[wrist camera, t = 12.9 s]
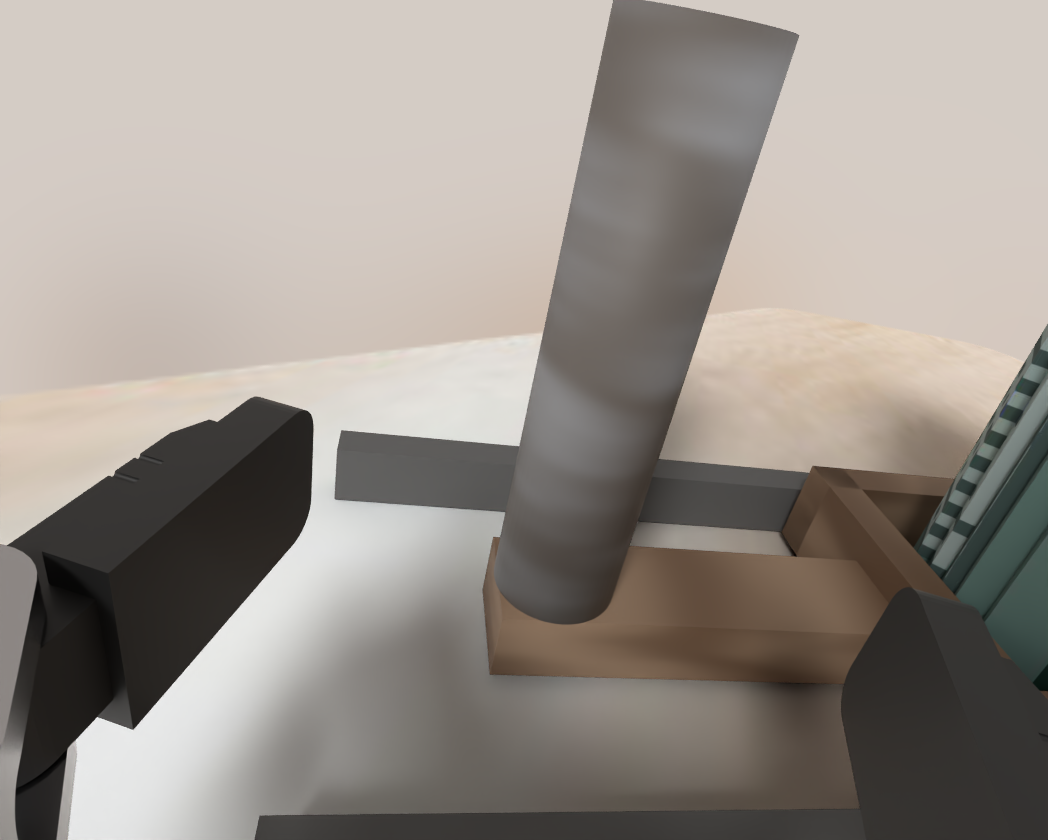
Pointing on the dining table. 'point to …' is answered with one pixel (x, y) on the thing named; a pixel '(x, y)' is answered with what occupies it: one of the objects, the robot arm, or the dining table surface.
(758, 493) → the lane rails
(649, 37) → the pull sled
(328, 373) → the dining table surface
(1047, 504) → the can
